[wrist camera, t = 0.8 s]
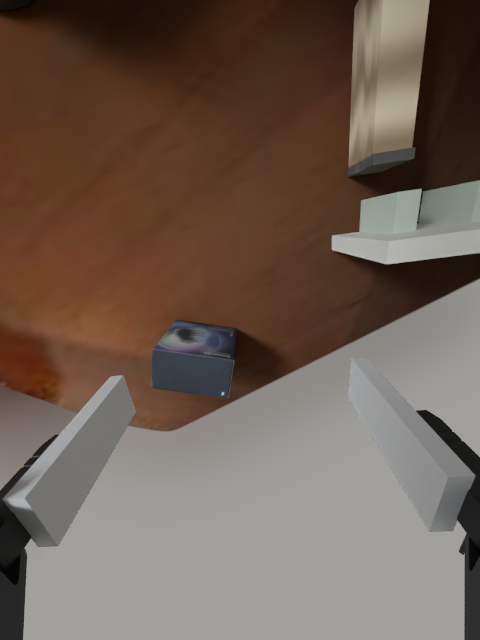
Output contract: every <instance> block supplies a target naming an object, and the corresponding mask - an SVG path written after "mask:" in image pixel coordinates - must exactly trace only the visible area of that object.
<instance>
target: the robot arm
mask: <svg viewBox="0 0 480 640" xmlns="http://www.w3.org/2000/svg"><path fill="white" fill-rule="evenodd" d="M31 1H33V0H0V10H13V9H17V8H20V7H23V6H25V5H27V4H29V3H30V2H31ZM348 398H349V400H350V402H351V403H352V405H353V407H354V408H355V410H356V412H357V413H358V415H359V417H360V418H361V420H362V422H363V423H364V425H365V427H366V428H367V430H368V432H369V433H370V435H371V437H372V438H373V440H374V441H375V443H376V445H377V446H378V448H379V450H380V451H381V453H382V455H383V456H384V458H385V460H386V461H387V463H388V465H389V466H390V468H391V470H392V471H393V473H394V474H395V476H396V478H397V479H398V481H399V483H400V484H401V486H402V488H403V489H404V491H405V493H406V494H407V496H408V497H409V499H410V501H411V503H412V504H413V506H414V508H415V509H416V511H417V513H418V514H419V516H420V517H421V519H422V521H423V522H424V524H425V526H426V527H427V529H428V531H429V532H437V531H453V529H454V527H455V525H456V522H457V520H458V521H459V523H460V524H461V525H462V527H463V528H464V530H465V531H466V532H467V534H466V536H465V539H464V541H463V543H462V545H461V547H460V550H459V552H460V553H461V554H463V555H464V553H465V640H480V457H479V456H478V455H477V454H475V452H474V451H472V449H471V448H470V447H469V446H468V445H467V444H466V443H465V442H462V441H461V439H460V438H459V437H458V436H457V435H456V434H455V433H454V432H452V430H451V429H450V428H449V427H448V426H447V425H446V424H445V423H444V422H443V421H442V420H441V419H440V418H438V417H437V416H435V415H433V414H432V413H430V412H428V411H427V410H422V411H415V410H414V409H413V408H412V407H411V405H410V404H409V403H408V402H407V401H406V400H405V399H404V398H403V397H402V396H401V395H400V394H399V393H398V391H396V389H395V388H394V387H393V386H392V385H391V384H390V383H389V382H388V381H387V380H386V378H384V376H383V375H382V374H381V373H380V372H379V371H378V370H377V369H376V368H375V367H374V366H373V364H371V362H370V361H369V360H368V359H367V358H366V357H356V358H351V367H350V378H349V389H348ZM135 413H136V411H135V408H134V405H133V402H132V399H131V396H130V393H129V390H128V388H127V385H126V382H125V379H124V376H111V377H110V378H109V379H108V380H107V381H106V382H105V383H104V385H103V386H102V387H101V388H100V389H99V390H98V391H97V393H96V394H95V395H94V396H93V397H92V398H91V399H90V400H89V402H88V403H87V404H86V405H85V406H84V407H83V408H82V410H81V411H80V412H79V413H78V414H77V415H76V416H75V418H74V419H73V420H72V421H71V422H70V423H69V424H68V425H67V427H66V428H65V429H64V430H63V431H62V432H61V433H60V434H59V435H55V436H54V437H52V438H51V439H49V440H48V441H47V442H45V443H44V444H43V445H42V446H41V447H40V448H39V449H38V450H37V451H36V452H35V453H34V455H33V456H32V458H30V459H29V460H28V461H27V462H26V463H25V464H24V467H23V468H21V469H20V470H19V471H18V472H17V473H16V474H15V475H14V476H13V477H12V478H11V480H10V481H9V482H8V483H7V484H6V485H5V486H4V487H3V488H2V490H1V491H0V640H23V627H24V626H23V625H24V605H25V585H26V564H27V563H26V562H27V554H26V550H25V549H24V547H25V546H26V545H27V543H28V542H29V540H30V539H31V538H32V539H33V541H34V542H35V543H36V545H37V546H38V547H49V546H58V545H59V544H60V542H61V540H62V538H63V537H64V535H65V533H66V532H67V530H68V528H69V526H70V524H71V523H72V521H73V519H74V518H75V516H76V514H77V513H78V511H79V509H80V507H81V506H82V504H83V502H84V500H85V499H86V497H87V495H88V494H89V492H90V490H91V488H92V487H93V485H94V483H95V481H96V480H97V478H98V476H99V475H100V472H101V471H102V469H103V468H104V466H105V464H106V463H107V461H108V459H109V457H110V456H111V454H112V452H113V450H114V449H115V447H116V445H117V444H118V441H119V440H120V438H121V437H122V435H123V433H124V431H125V430H126V428H127V426H128V425H129V423H130V421H131V419H132V418H133V416H134V414H135Z"/></svg>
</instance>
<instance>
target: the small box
mask: <svg viewBox="0 0 480 640" xmlns="http://www.w3.org/2000/svg"><path fill="white" fill-rule="evenodd" d="M236 337H237V329H235V328H228V327H222V326H215V325H208V324H202V323H195V322H188V321H181V320H175V321H174V323H173V324H172V325H171V327H170V328H169V329H168V331H167V332H166V333H165V335H164V336H163V337H162V338H161V340H160V341H159V342H158V344H157V345H156V346H155V347H154V348H153V350H152V388H154V389H161V390H169V391H176V392H183V393H191V394H198V395H206V396H213V397H221V398H229V393H230V387H231V380H232V374H233V368H234V362H235V349H236Z"/></svg>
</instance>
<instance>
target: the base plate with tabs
mask: <svg viewBox="0 0 480 640" xmlns="http://www.w3.org/2000/svg"><path fill="white" fill-rule="evenodd" d="M421 191H422V189H416V190H409V191H402V192H396V193H391V194H387V195H383V196H378V197H374V198H370V199H365V200H361V213H360V231H359V232H355V233H347V234H340V235H333V236H332V250H333V251H337V252H341V253H345V254H349V255H352V256H356V257H360V258H364V259H368V260H371V261H375V262H379V263H383V264H395V263H403V262H411V261H419V260H427V259H435V258H443V257H451V256H459V255H467V254H475V253H480V180H479V181H474V182H469V183H464V184H459V185H454V186H449V187H444V188H439V189H433V190H428V191H423V195H422V202H421V209H420V217H419V224H417V220H418V213H419V206H420V198H421Z"/></svg>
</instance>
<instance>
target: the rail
mask: <svg viewBox="0 0 480 640" xmlns="http://www.w3.org/2000/svg"><path fill="white" fill-rule="evenodd" d="M429 2H430V0H358V2H357V4H356V6H355V8H354V35H353V63H352V90H351V118H350V146H349V168H348V177H351V176H358V175H365V174H372V173H378V172H382V171H385V170H387V169H390V168H392V167H395V166H397V165H400V164H402V163H405V162H407V161H410V160H412V159H414V157H415V149H416V147H413V148H412V145H413V136H414V128H415V119H416V111H417V103H418V94H419V86H420V77H421V69H422V60H423V52H424V44H425V35H426V27H427V18H428V10H429Z"/></svg>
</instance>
